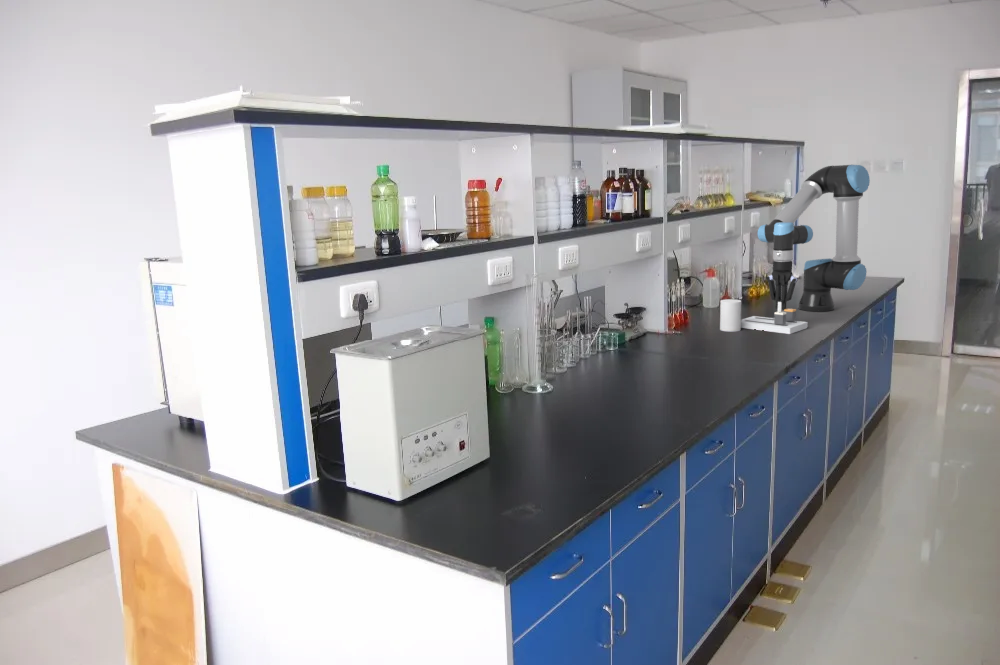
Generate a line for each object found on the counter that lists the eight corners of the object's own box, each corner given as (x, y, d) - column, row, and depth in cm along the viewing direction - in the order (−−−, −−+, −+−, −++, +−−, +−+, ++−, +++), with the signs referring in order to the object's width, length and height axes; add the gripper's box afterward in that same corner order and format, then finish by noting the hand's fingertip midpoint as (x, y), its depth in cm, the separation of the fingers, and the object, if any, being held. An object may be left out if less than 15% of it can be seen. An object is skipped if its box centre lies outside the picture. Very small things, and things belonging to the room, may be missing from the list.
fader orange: (787, 319, 304) (787, 308, 303) (795, 320, 301) (796, 309, 300) (783, 320, 302) (784, 309, 301) (792, 321, 300) (792, 310, 299)
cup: (738, 327, 307) (738, 299, 305) (742, 331, 299) (743, 302, 297) (718, 327, 308) (718, 299, 306) (722, 331, 300) (722, 302, 298)
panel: (753, 321, 318) (753, 315, 317) (807, 327, 300) (807, 321, 300) (735, 327, 308) (735, 320, 308) (789, 334, 291) (790, 327, 290)
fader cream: (777, 322, 299) (777, 311, 298) (786, 323, 296) (786, 312, 295) (774, 323, 297) (774, 312, 296) (782, 324, 294) (783, 313, 293)
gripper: (763, 260, 302) (761, 316, 307) (793, 262, 293) (791, 320, 297) (772, 258, 307) (770, 314, 312) (802, 260, 298) (800, 317, 302)
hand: (780, 317), depth 305 cm, fingers closed
